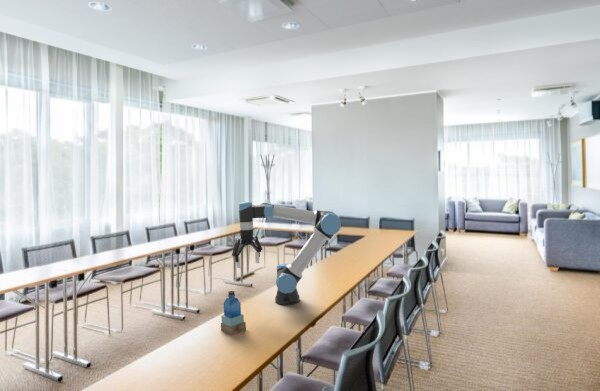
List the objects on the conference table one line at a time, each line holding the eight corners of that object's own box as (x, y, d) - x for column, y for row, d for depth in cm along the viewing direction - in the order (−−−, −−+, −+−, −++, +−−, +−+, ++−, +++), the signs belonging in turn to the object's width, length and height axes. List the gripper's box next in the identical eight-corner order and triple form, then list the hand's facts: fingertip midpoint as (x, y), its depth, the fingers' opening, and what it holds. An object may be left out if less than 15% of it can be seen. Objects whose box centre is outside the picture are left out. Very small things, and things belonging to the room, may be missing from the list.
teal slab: (234, 318, 193) (234, 310, 192) (243, 322, 187) (243, 314, 187) (221, 323, 187) (221, 315, 187) (230, 327, 181) (230, 319, 181)
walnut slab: (235, 325, 194) (235, 317, 193) (245, 329, 187) (245, 322, 187) (221, 330, 187) (220, 323, 187) (231, 335, 181) (230, 327, 181)
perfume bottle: (230, 318, 183) (229, 294, 182) (224, 315, 187) (222, 292, 186) (241, 314, 187) (239, 291, 186) (234, 311, 191) (233, 289, 191)
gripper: (259, 225, 222) (261, 260, 223) (224, 231, 204) (226, 268, 205) (267, 226, 216) (268, 262, 217) (232, 232, 199) (234, 270, 200)
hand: (248, 265), depth 211 cm, fingers open, 13 cm apart
